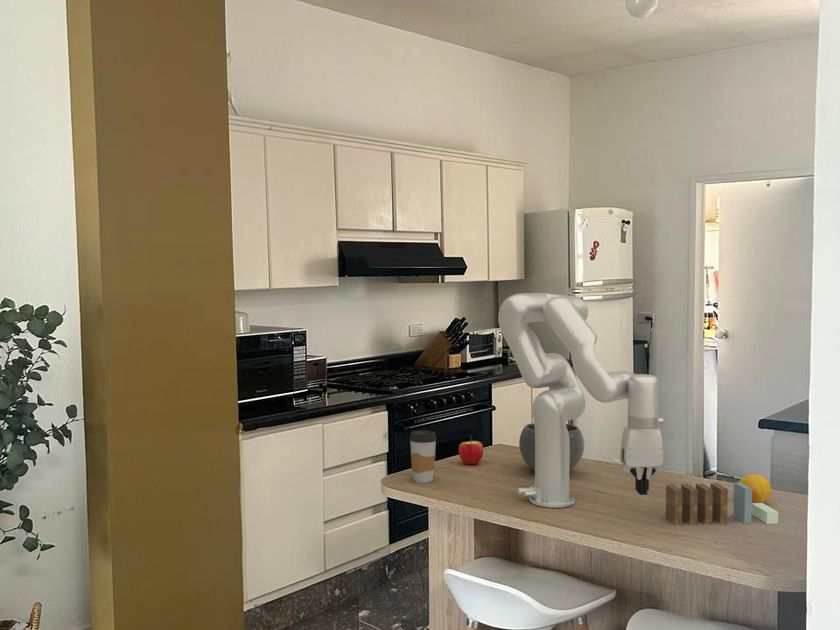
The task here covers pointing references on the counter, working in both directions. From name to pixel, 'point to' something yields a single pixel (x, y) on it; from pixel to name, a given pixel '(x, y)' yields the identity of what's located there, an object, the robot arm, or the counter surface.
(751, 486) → the fruit
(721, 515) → the domino
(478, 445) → the apple
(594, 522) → the counter surface
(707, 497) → the domino
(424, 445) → the coffee cup
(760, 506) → the block
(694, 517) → the domino
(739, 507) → the domino
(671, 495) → the domino
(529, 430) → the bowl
